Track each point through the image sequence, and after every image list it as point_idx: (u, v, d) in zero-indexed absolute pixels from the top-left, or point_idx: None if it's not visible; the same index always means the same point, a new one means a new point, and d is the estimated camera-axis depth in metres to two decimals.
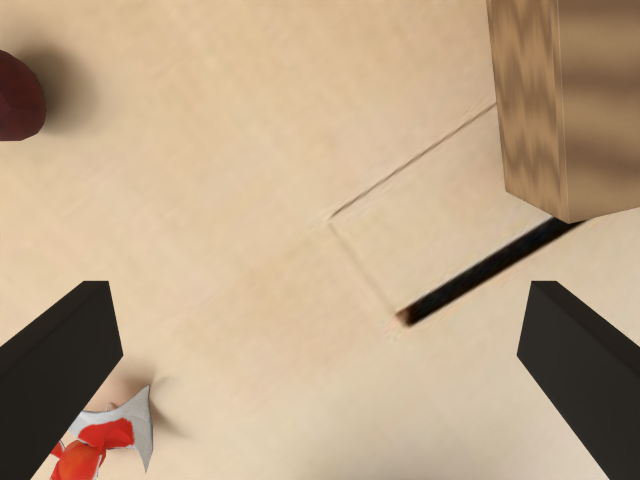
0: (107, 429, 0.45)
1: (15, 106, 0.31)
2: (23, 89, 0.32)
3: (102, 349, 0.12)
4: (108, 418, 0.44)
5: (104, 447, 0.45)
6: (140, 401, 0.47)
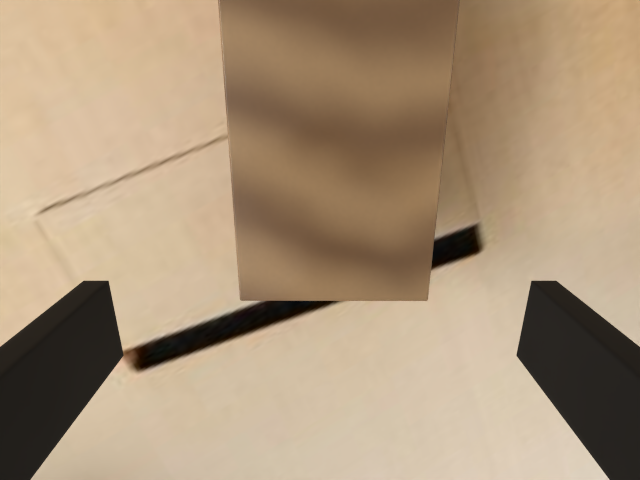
0: None
1: None
2: None
3: (102, 349, 0.12)
4: None
5: None
6: None
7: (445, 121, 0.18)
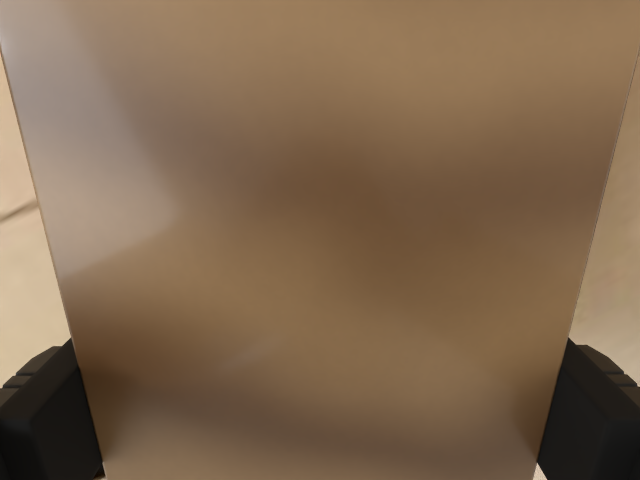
0: None
1: None
2: None
3: None
4: None
5: None
6: None
7: (612, 152, 0.07)
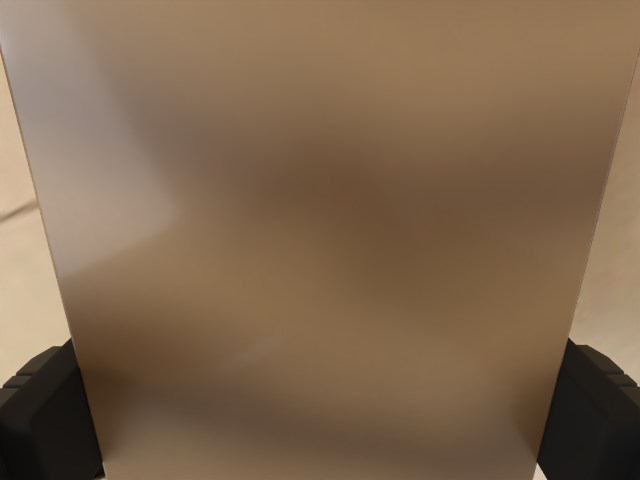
0: None
1: None
2: None
3: None
4: None
5: None
6: None
7: (611, 152, 0.07)
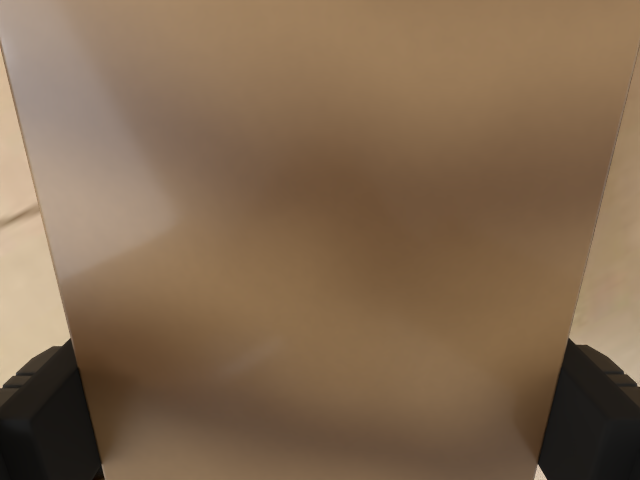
0: None
1: None
2: None
3: None
4: None
5: None
6: None
7: (611, 150, 0.07)
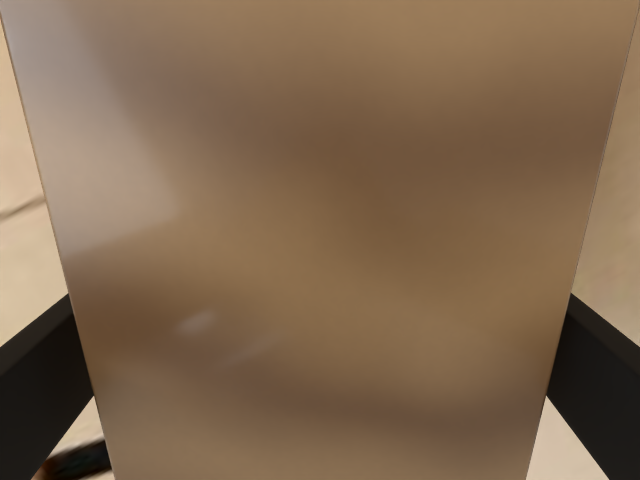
0: None
1: None
2: None
3: None
4: None
5: None
6: None
7: (613, 102, 0.07)
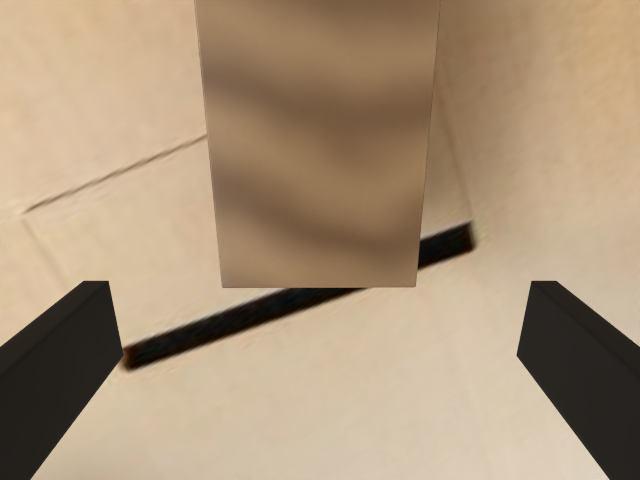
0: None
1: None
2: None
3: (102, 349, 0.12)
4: None
5: None
6: None
7: (430, 98, 0.18)
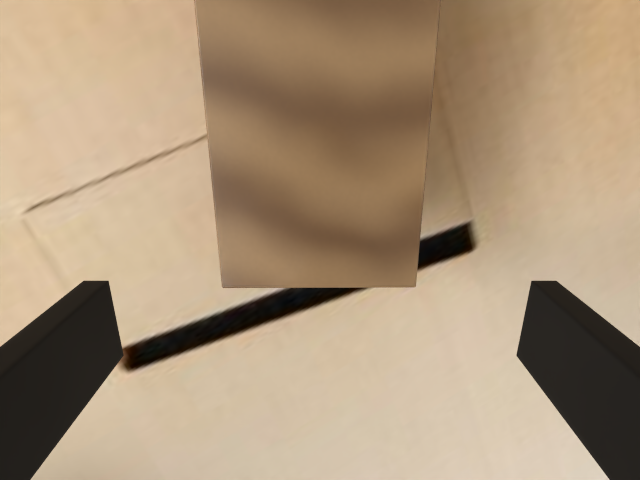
0: None
1: None
2: None
3: (102, 349, 0.12)
4: None
5: None
6: None
7: (430, 98, 0.18)
